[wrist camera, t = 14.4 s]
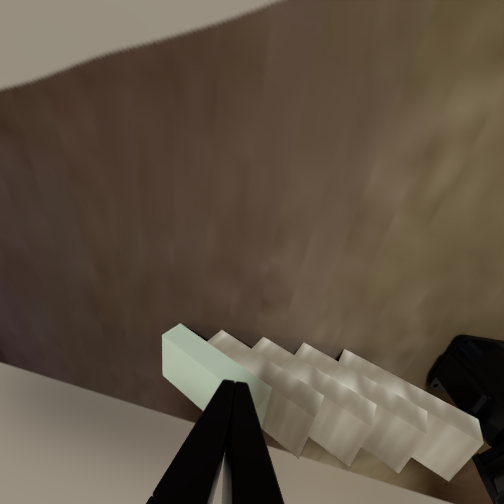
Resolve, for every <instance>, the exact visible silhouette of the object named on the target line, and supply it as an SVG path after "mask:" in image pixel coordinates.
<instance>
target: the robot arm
mask: <svg viewBox="0 0 504 504" xmlns="http://www.w3.org/2000/svg"><path fill="white" fill-rule="evenodd" d="M428 385H429V386H430V388H431V389H435V390H441V391H446V392H447V393H448V394H449V396H450V397H451V398H452V400H453V401H454V403H455V404H456V405H457V407H458V408H459V409H460V410H461V411H463V412H465V413H467V414H469V415H471V416H473V417H475V418H477V419H478V420H479V424H480V429H481V434H482V437H483V438H484V440H485V441H486V442H487V444H488V445H489V446H491V448H490V449H488V450H486V451H484V452H483V453H481V454H478V453H477V454H476V455H474V456H472V459H473V461H474V463H475V465H476V468H477V470H478V473H479V475H480V477H481V479H482V481H483V483H484V485H485V487H486V489H487V491H488V494H489V496H490V498H491V500H492V502H493V504H504V341H501V340H494V339H488V338H482V337H475V336H469V335H459V336H458V337H457V338H456V339H455V340H454V342H453V343H452V345H451V347H450V348H449V350H448V351H447V353H446V354H445V356H444V357H443V359H442V360H441V362H440V363H439V365H438V367H437V368H436V370H435V371H434V373H433V374H432V376H431V377H430V379H429V380H428ZM224 452H225V454H224ZM223 457H224V467H223V488H222V504H284V501H283V498H282V494H281V491H280V488H279V485H278V481H277V478H276V475H275V472H274V468H273V465H272V461H271V458H270V455H269V452H268V448H267V445H266V441H265V438H264V435H263V431H262V428H261V425H260V422H259V418H258V415H257V412H256V408H255V405H254V402H253V398H252V395H251V392H250V388H249V385H248V383H246V382H241V381H236V382H235V381H233V380H228V379H224V380H222V382H221V383H220V385H219V387H218V388H217V390H216V391H215V393H214V395H213V396H212V398H211V400H210V401H209V403H208V404H207V406H206V408H205V409H204V411H203V412H202V414H201V416H200V417H199V419H198V421H197V422H196V424H195V425H194V427H193V429H192V430H191V432H190V434H189V435H188V437H187V438H186V440H185V442H184V443H183V445H182V446H181V448H180V450H179V451H178V453H177V455H176V456H175V458H174V459H173V461H172V463H171V464H170V466H169V468H168V469H167V471H166V472H165V474H164V476H163V477H162V479H161V480H160V482H159V484H158V485H157V487H156V488H155V490H154V492H153V496H151V497H150V498H149V499H148V501H147V503H146V504H212V502H213V499H214V495H215V490H216V487H217V482H218V478H219V474H220V470H221V466H222V462H223Z"/></svg>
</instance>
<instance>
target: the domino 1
mask: <svg viewBox="0 0 504 504" xmlns="http://www.w3.org/2000/svg"><path fill="white" fill-rule="evenodd" d="M162 357H163V376H164V377H165V378H167V379H168V380H169V381H170V382H171V383H172V384H173V385H174V386H176V387H177V388H178V389H179V390H180V391H181V392H182V393H183V394H185V395H186V396H187V397H188V398H189V399H190V400H191V401H192V402H193V403H195V404H196V405H197V406H198V407H199V408H200V409H201V410H202V411H204V409H205V408H206V406H207V404H208V403H209V401H210V400H211V398H212V396H213V395H214V393H215V391H216V390H217V388H218V387H219V385H220V383H221V382H222V380H224V379H228V380H233V381H235V382H236V381H241V382H246V383H248V385H249V388H250V392H251V395H252V398H253V402H254V405H255V408H256V412H257V415H258V418H259V422H260V425H261V428H262V426H263V422H264V418H265V414H266V411H267V407H268V403H269V399H270V395H271V391H272V387H271V386H269V385H268V384H266V383H265V382H263V381H262V380H261V379H259V378H258V377H256V376H255V375H253V374H252V373H251V372H249V371H248V370H246V369H245V368H243V367H242V366H241V365H239V364H238V363H236V362H235V361H233V360H232V359H231V358H229V357H228V356H226V355H225V354H223V353H222V352H221V351H219V350H218V349H216V348H215V347H213V346H212V345H211V344H209V343H208V342H206V341H205V340H203V339H202V338H201V337H199V336H198V335H196V334H195V333H193V332H192V331H191V330H189V329H188V328H186V327H185V326H183V325H182V324H181V323H180V324H179V325H177V326H176V327H174V328H172V329H171V330H169V331H168V332H166V333H165V334H163V335H162Z"/></svg>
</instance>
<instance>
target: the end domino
mask: <svg viewBox="0 0 504 504" xmlns="http://www.w3.org/2000/svg"><path fill="white" fill-rule="evenodd" d="M339 362H340V363H342V364H343V365H345V366H347V367H349V368H350V369H352V370H354V371H356V372H358V373H359V374H361V375H363V376H365V377H367V378H368V379H370V380H372V381H374V382H376V383H377V384H379V385H381V386H383V387H384V388H386V389H388V390H390V391H392V392H393V393H395V394H397V395H399V396H401V397H402V398H404V399H406V400H408V401H410V402H411V403H413V404H415V405H417V406H419V407H420V408H422V409H424V410H426V411H427V436H426V437H425V439H424V440H423V441H422V443H421V444H420V445H419V447H418V448H417V450H416V451H415V452H414V454H413V455H412V456H411V457H412V458H414V459H415V460H417V461H418V462H420V463H421V464H423V465H424V466H426V467H427V468H429V469H430V470H432V471H433V472H435V473H437V474H438V475H440V476H441V477H443V478H444V479H446V480H447V481H450V480H451V479H452V478H453V477H454V476H455V474H456V473H457V472H458V471H459V470H460V469H461V468H462V467H463V466H464V465H465V463H466V462H467V461H468V460H469V459H470V458H471V457H472V456H473V455H474V453H475V452H476V451H477V450H478V449H479V448H480V447H481V446H482V445H483V439H482V434H481V429H480V424H479V420H478V419H477V418H475V417H473V416H471V415H469V414H467V413H465V412H463V411H461V410H459V409H458V408H456V407H454V406H452V405H450V404H448V403H446V402H444V401H442V400H440V399H439V398H437V397H435V396H433V395H431V394H429V393H427V392H425V391H423V390H421V389H420V388H418V387H416V386H414V385H412V384H410V383H408V382H406V381H404V380H402V379H401V378H399V377H397V376H395V375H393V374H391V373H389V372H387V371H385V370H383V369H382V368H380V367H378V366H376V365H374V364H372V363H370V362H368V361H366V360H364V359H363V358H361V357H359V356H357V355H355V354H353V353H351V352H349V351H347V350H345V349H344V351H343V353H342V355H341V357H340V360H339Z"/></svg>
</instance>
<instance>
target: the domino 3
mask: <svg viewBox="0 0 504 504" xmlns="http://www.w3.org/2000/svg"><path fill="white" fill-rule="evenodd" d="M252 350H254V351H255V352H257V353H259V354H260V355H262V356H263V357H265V358H266V359H268V360H269V361H271V362H273V363H274V364H276V365H277V366H279V367H280V368H282V369H283V370H285V371H286V372H288V373H290V374H291V375H293V376H294V377H296V378H297V379H299V380H300V381H302V382H304V383H305V384H307V385H308V386H310V387H311V388H313V389H314V390H316V391H318V392H319V393H321V394H322V395H324V398H323V401H322V403H321V406H320V408H319V411H318V413H317V416H316V418H315V421H314V423H313V426H312V428H311V431H310V433H309V437H310V438H311V439H313V440H314V441H315V442H317V443H318V444H319V445H321V446H322V447H323V448H325V449H326V450H327V451H328V452H330V453H331V454H332V455H334V456H335V457H336V458H338V459H339V460H340V461H342V462H343V463H344V464H346V465H347V466H348V467H350V465H351V464H352V462H353V460H354V458H355V456H356V455H357V453H358V451H359V449H360V448H361V446H362V444H363V442H364V441H365V439H366V437H367V435H368V433H369V432H370V430H371V428H372V425H373V420H374V415H375V410H376V406H377V405H376V404H375V403H373V402H371V401H370V400H368V399H366V398H365V397H363V396H361V395H360V394H358V393H356V392H355V391H353V390H351V389H350V388H348V387H346V386H345V385H343V384H341V383H340V382H338V381H336V380H335V379H333V378H331V377H330V376H328V375H326V374H325V373H323V372H321V371H320V370H318V369H316V368H315V367H313V366H311V365H310V364H308V363H306V362H305V361H303V360H301V359H300V358H298V357H296V356H295V355H293V354H291V353H290V352H288V351H286V350H285V349H283V348H281V347H280V346H278V345H276V344H275V343H273V342H271V341H270V340H268V339H266V338H265V337H263V338H262V339H261V340H260V341H259V342H258V343H257V344H256V345H255V346H254V347H253V348H252Z"/></svg>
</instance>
